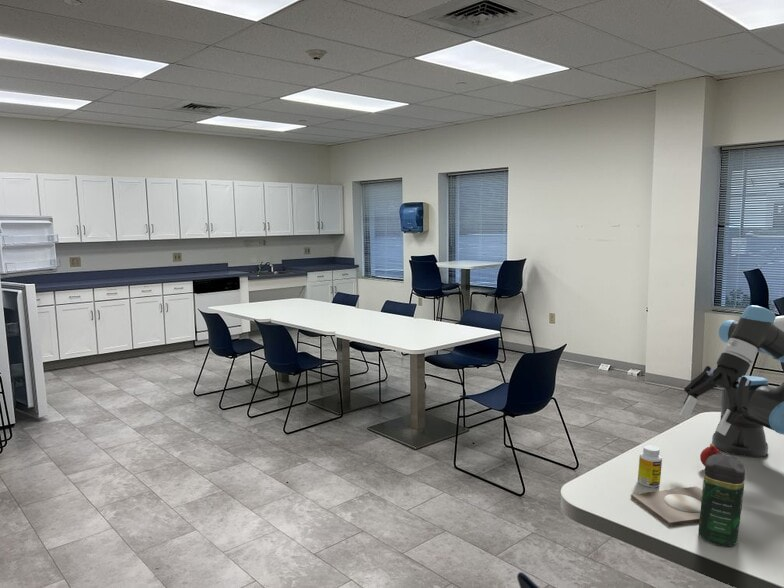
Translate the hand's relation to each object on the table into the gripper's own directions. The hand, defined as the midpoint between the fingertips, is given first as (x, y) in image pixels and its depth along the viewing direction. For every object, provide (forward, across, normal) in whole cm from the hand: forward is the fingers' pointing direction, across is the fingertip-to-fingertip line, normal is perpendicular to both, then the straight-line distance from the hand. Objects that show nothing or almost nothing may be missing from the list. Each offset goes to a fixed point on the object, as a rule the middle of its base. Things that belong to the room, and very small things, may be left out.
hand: (700, 424), depth 158 cm
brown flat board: (+22, +14, -7) cm, 26 cm away
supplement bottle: (+21, +1, -7) cm, 22 cm away
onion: (+10, -2, +13) cm, 17 cm away
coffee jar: (+23, +27, -8) cm, 36 cm away
